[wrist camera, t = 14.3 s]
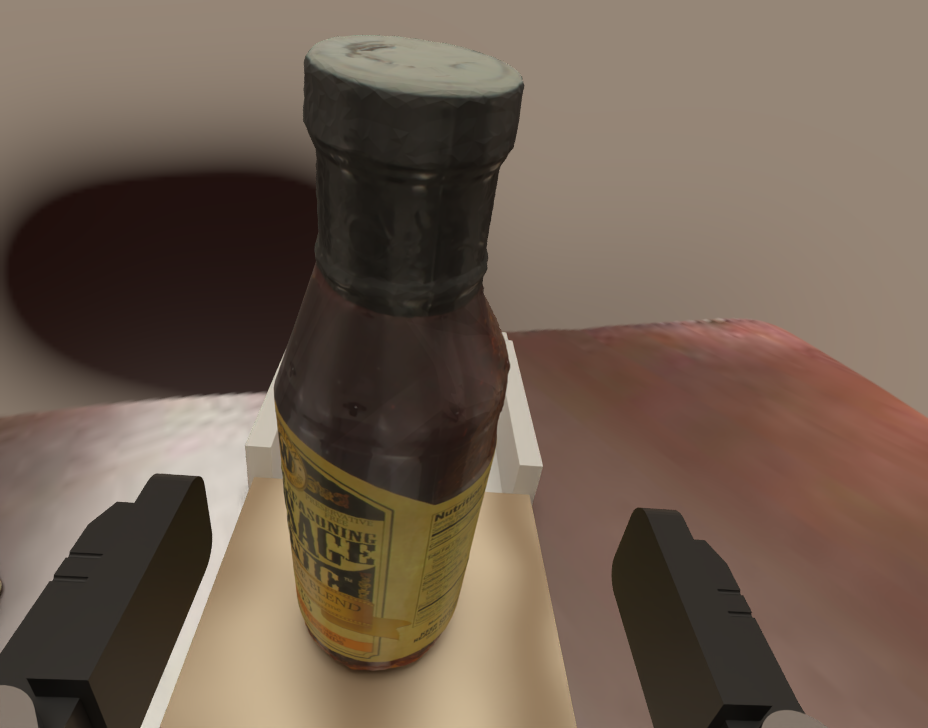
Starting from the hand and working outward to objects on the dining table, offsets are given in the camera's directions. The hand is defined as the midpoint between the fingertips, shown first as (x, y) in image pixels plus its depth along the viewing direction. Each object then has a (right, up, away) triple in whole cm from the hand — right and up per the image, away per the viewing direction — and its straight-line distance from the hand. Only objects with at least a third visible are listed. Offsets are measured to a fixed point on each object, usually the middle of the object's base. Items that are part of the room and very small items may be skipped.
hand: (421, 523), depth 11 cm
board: (-3, -9, +14) cm, 17 cm away
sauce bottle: (-3, -7, +12) cm, 14 cm away
